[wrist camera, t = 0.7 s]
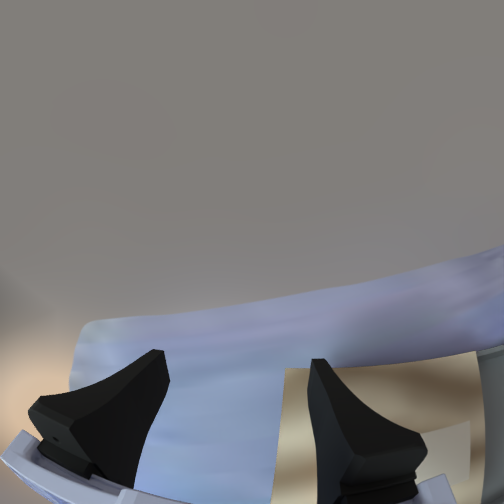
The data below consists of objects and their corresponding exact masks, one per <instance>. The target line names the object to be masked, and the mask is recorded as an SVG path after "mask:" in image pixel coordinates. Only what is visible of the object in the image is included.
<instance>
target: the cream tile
mask: <svg viewBox="0 0 504 504" xmlns="http://www.w3.org/2000/svg"><path fill="white" fill-rule="evenodd" d="M420 435H421V437H422V438H423V440H424V442H425V445H426V447H427V449H428V453H427V456H426V457H425V459H424V460H423V462H422V463H421V464H420V465H419V467H418V468H417V469H416V470H415V472H416V475H417V478H416V479H415V483H416V485H417V484H419V483H421V482H422V481H425V480H427V479H430V478H433V477H435V476H438V475H441V474H445V475H446V477H447V480H448V482H449V484H450V486H452V485H455V484H458V483H460V482H463V481H465V480H468V479H469V472H470V420H469V421H466V422H463V423H460V424H457V425H453V426H450V427H446V428H443V429H439V430H435V431H431V432H426V433H422V434H420Z"/></svg>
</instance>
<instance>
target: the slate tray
mask: <svg viewBox="0 0 504 504" xmlns="http://www.w3.org/2000/svg"><path fill="white" fill-rule="evenodd" d="M476 356H477V361H478V366H479V372H480V379H481V386H482V394H483V404H484V417H485V469H484V481H483V490H482V497H481V504H504V345H501V346H497V347H493V348H489V349H485V350H481V351H477V352H476Z"/></svg>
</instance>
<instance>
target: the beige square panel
mask: <svg viewBox="0 0 504 504" xmlns="http://www.w3.org/2000/svg"><path fill="white" fill-rule="evenodd" d="M332 369H333V370H334V372H335V373H336V374H337V376H338V377H339V378H340V379H341V380H342V382H343V383H344V384H345V385H346V386H347V387H348V388H349V389H350V390H351V391H352V392H353V393H354V394H355V395H356V396H357V397H358V398H359V399H360V400H361V401H362V402H363V403H365V404H366V405H367V406H368V407H370V408H371V409H372V410H374V411H375V412H377V413H378V414H380V415H381V416H383V417H385V418H386V419H388V420H390V421H392V422H394V423H396V424H398V425H400V426H402V427H404V428H407V429H410V430H412V431H415V432H418V433H420V434H422V433H426V432H431V431H435V430H439V429H443V428H446V427H450V426H453V425H457V424H460V423H463V422H466V421H469V420H470V472H469V479H468V480H465V481H463V482H460V483H458V484H455V485H452V486H450V487H451V489H452V492H453V494H454V497H455V500H456V502H457V504H481V497H482V490H483V481H484V469H485V417H484V404H483V394H482V386H481V379H480V372H479V366H478V361H477V356H476V351H472V352H467V353H462V354H457V355H452V356H447V357H441V358H435V359H429V360H422V361H415V362H407V363H399V364H389V365H378V366H365V367H348V368H332ZM309 374H310V368H285V379H284V391H283V402H282V413H281V423H280V432H279V441H278V450H277V459H276V467H275V474H274V482H273V489H272V496H271V503H270V504H317V461H316V447H315V440H314V435H313V430H312V424H311V419H310V414H309V409H308V398H307V387H308V380H309Z"/></svg>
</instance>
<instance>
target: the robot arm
mask: <svg viewBox="0 0 504 504" xmlns="http://www.w3.org/2000/svg"><path fill="white" fill-rule="evenodd" d="M169 383H170V378H169V373H168V369H167V364H166V359H165V354H164V351H162V350H155V349H152V350H151V351H149V352H148V353H146V354H145V355H143V356H142V357H140V358H139V359H137V360H136V361H134V362H133V363H131V364H130V365H128V366H127V367H125V368H124V369H122V370H120V371H118V372H117V373H115V374H113V375H112V376H110V377H108V378H106V379H104V380H102V381H100V382H97V383H95V384H93V385H90V386H87V387H84V388H81V389H78V390H75V391H71V392H67V393H62V394H56V395H47V396H40V397H39V398H38V400H37V401H36V402H35V403H34V404H33V405H32V406H31V407H30V409H29V410H28V415H29V418H30V420H31V421H32V423H33V424H34V426H35V427H36V429H37V430H38V432H39V433H40V434H41V436H42V437H43V438H44V439H43V440H42V441H41V442H40V441H39V440H38V439H37V438H35V437H34V436H32V435H31V434H29V433H28V432H26V431H25V430H22V431H21V432H20V433H19V434H18V435H17V436H16V438H15V439H14V440H13V441H12V442H11V444H10V445H9V446H8V448H7V449H6V450H5V451H4V453H3V454H2V455H1V456H0V458H1V459H2V461H3V462H4V463H5V464H6V465H7V466H8V467H9V468H10V469H11V470H12V471H13V472H14V473H15V474H16V475H17V476H18V477H19V478H20V479H21V480H22V481H23V482H24V483H25V484H27V485H28V486H29V487H30V488H32V489H33V490H35V491H36V492H37V493H39V494H40V495H42V496H43V497H44V498H46V499H47V500H49V501H51V502H52V503H53V504H191V503H186V502H181V501H177V500H172V499H168V498H164V497H160V496H156V495H153V494H149V493H146V492H142V491H139V490H135V489H133V488H134V482H135V477H136V472H137V468H138V464H139V460H140V456H141V453H142V449H143V446H144V443H145V440H146V437H147V434H148V431H149V429H150V427H151V425H152V423H153V421H154V419H155V417H156V415H157V413H158V411H159V409H160V407H161V405H162V402H163V400H164V398H165V396H166V393H167V390H168V386H169ZM307 398H308V409H309V414H310V419H311V424H312V430H313V435H314V440H315V447H316V461H317V504H457V502H456V500H455V497H454V494H453V492H452V489H451V487H450V484H449V482H448V480H447V477H446V475H445V474H441V475H438V476H435V477H433V478H430V479H427V480H425V481H422V482H421V483H419V484H417V485H416V483H415V479H416V478H417V475H416V472H415V470H416V469H417V468H418V467H419V465H420V464H421V463H422V462H423V460H424V459H425V457H426V456H427V453H428V449H427V447H426V445H425V442H424V440H423V438H422V437H421V435H420V433H418V432H415V431H412V430H410V429H407V428H404V427H402V426H400V425H398V424H396V423H394V422H392V421H390V420H388V419H386V418H385V417H383V416H381V415H380V414H378V413H377V412H375V411H374V410H372V409H371V408H370V407H368V406H367V405H366V404H365V403H363V402H362V401H361V400H360V399H359V398H358V397H357V396H356V395H355V394H354V393H353V392H352V391H351V390H350V389H349V388H348V387H347V386H346V385H345V384H344V383H343V382H342V380H341V379H340V378H339V377H338V376H337V374H336V373H335V372H334V370H333V369H332V368H331V366H330V365H329V364H328V362H327V361H326V360H325V359H312V361H311V367H310V374H309V380H308V387H307Z"/></svg>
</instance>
